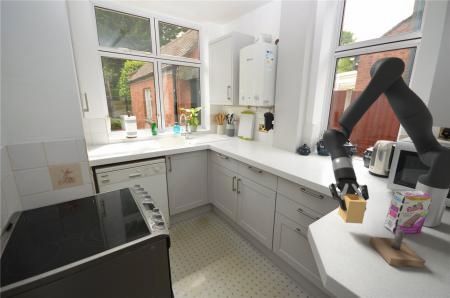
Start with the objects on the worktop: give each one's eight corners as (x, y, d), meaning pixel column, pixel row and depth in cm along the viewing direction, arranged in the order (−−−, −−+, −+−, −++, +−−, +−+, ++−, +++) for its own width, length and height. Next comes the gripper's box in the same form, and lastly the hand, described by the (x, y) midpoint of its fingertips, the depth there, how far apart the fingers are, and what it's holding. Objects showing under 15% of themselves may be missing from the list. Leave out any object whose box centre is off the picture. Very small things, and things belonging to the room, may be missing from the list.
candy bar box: (393, 234, 76) (404, 196, 72) (383, 226, 81) (393, 190, 77) (421, 234, 77) (433, 196, 73) (409, 226, 81) (420, 190, 77)
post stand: (398, 244, 71) (404, 221, 68) (423, 267, 61) (431, 241, 59) (369, 242, 71) (374, 219, 69) (389, 264, 62) (396, 239, 59)
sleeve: (353, 214, 79) (357, 194, 77) (362, 223, 73) (366, 201, 71) (338, 213, 79) (341, 193, 77) (345, 222, 74) (349, 201, 71)
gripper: (329, 165, 79) (338, 207, 71) (366, 167, 78) (380, 209, 70) (322, 173, 86) (330, 212, 77) (356, 174, 85) (368, 214, 76)
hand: (354, 210), depth 74 cm, fingers closed on sleeve, 6 cm apart
